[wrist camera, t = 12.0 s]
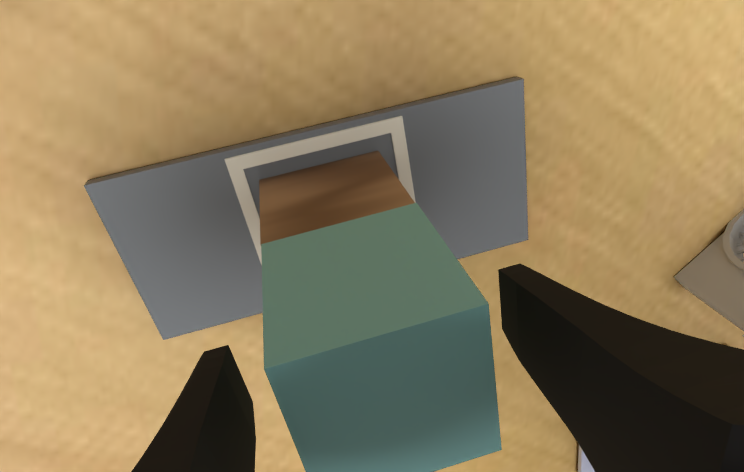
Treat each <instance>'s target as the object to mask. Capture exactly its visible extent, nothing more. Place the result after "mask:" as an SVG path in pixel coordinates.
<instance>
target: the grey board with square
mask: <svg viewBox="0 0 744 472" xmlns="http://www.w3.org/2000/svg"><path fill="white" fill-rule="evenodd" d="M374 151H379V152H380V154H381V155H382V157H383V158H384V159H385V161H386V162H387V164H388V165H389V166H390V168H391V169H392V171H393V172H394V174H395V175H396V176H397V178H398V179H399V181H400V182H401V184H402V185H403V186H404V188H405V189H406V191H407V192H408V193H409V195H410V196H411V198H412V199H413V201H414V202H415V203H417V204H418V205H419V207H420V208H421V209H422V211H423V212H424V214H425V215H426V216H427V218H428V219H429V221H430V222H431V223H432V225H433V226H434V228H435V229H436V231H437V232H438V233H439V235H440V236H441V238H442V239H443V240H444V242H445V243H446V245H447V246H448V247H449V249H450V250H451V252H452V253H453V254H454V256H455V257H456V259H460V258H464V257H467V256H471V255H474V254H478V253H482V252H485V251H489V250H493V249H496V248H500V247H504V246H507V245H511V244H514V243H518V242H522V241H525V240H528V215H527V180H526V146H525V111H524V79H522V78H520V77H514V78H510V79H505V80H501V81H497V82H493V83H489V84H485V85H481V86H477V87H472V88H468V89H464V90H460V91H456V92H452V93H448V94H443V95H439V96H435V97H431V98H427V99H423V100H419V101H414V102H410V103H406V104H402V105H398V106H394V107H390V108H385V109H381V110H377V111H373V112H369V113H365V114H361V115H356V116H352V117H348V118H344V119H340V120H336V121H332V122H328V123H323V124H319V125H315V126H311V127H307V128H303V129H299V130H294V131H290V132H286V133H282V134H278V135H274V136H270V137H265V138H261V139H257V140H253V141H249V142H245V143H241V144H236V145H232V146H228V147H224V148H220V149H216V150H212V151H207V152H203V153H199V154H195V155H191V156H187V157H183V158H179V159H174V160H170V161H166V162H162V163H158V164H154V165H150V166H145V167H141V168H137V169H133V170H129V171H125V172H121V173H116V174H112V175H108V176H104V177H100V178H96V179H92V180H88V181H87V182H86V184H85V185H84V187H85V189H86V191H87V193H88V195H89V197H90V199H91V201H92V202H93V204H94V206H95V208H96V210H97V212H98V214H99V216H100V218H101V220H102V222H103V224H104V226H105V228H106V230H107V232H108V234H109V235H110V237H111V239H112V241H113V243H114V245H115V247H116V249H117V251H118V253H119V255H120V257H121V259H122V261H123V263H124V265H125V267H126V268H127V270H128V272H129V274H130V276H131V278H132V280H133V282H134V284H135V286H136V288H137V290H138V292H139V294H140V296H141V298H142V299H143V301H144V303H145V305H146V307H147V309H148V311H149V313H150V315H151V317H152V319H153V321H154V323H155V325H156V327H157V329H158V331H159V332H160V334H161V336H162V338H163V340H165V339H169V338H172V337H176V336H180V335H183V334H187V333H191V332H194V331H198V330H202V329H205V328H209V327H212V326H216V325H220V324H223V323H227V322H231V321H234V320H238V319H242V318H245V317H249V316H252V315H256V314H260V313H263V297H262V254H261V245H260V199H259V180H260V179H264V178H268V177H273V176H277V175H281V174H285V173H289V172H293V171H297V170H301V169H305V168H309V167H313V166H317V165H321V164H325V163H329V162H333V161H337V160H341V159H345V158H349V157H353V156H357V155H361V154H366V153H370V152H374Z"/></svg>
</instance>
